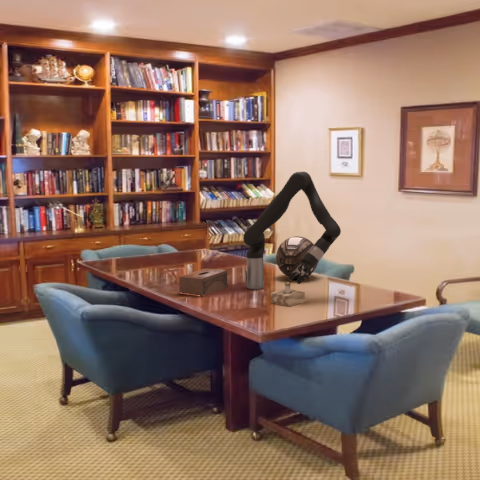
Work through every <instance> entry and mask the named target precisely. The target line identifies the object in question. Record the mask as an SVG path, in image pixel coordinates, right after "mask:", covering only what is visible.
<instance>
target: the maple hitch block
mask: <svg viewBox="0 0 480 480" xmlns="http://www.w3.org/2000/svg"><path fill="white" fill-rule="evenodd" d="M305 293H306V292H305V291H300V290H295V289H290V293H289V294H286V293H285V288H284V289H281V290H276V291H273V292H270V303H271V304H275V305H278V306H280V305H281V306H285V307H292V306H295V305H300V304H303V303H305V302H306V294H305ZM299 303H300V304H299Z"/></svg>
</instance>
